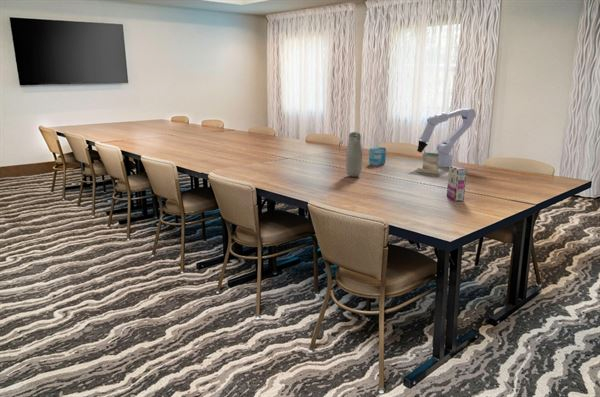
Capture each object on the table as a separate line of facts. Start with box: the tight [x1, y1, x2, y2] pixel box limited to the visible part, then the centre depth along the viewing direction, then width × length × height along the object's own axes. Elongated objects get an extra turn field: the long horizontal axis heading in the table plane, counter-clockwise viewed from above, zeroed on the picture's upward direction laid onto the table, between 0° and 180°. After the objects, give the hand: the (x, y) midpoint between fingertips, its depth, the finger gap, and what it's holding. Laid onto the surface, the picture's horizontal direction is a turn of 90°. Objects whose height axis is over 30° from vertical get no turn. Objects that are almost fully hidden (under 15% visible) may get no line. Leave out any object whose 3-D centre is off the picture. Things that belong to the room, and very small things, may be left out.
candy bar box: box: [446, 165, 467, 202], centre depth 237 cm, size 11×5×16 cm, turn 5°
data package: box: [368, 146, 387, 166], centre depth 330 cm, size 12×4×12 cm, turn 125°
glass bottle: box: [345, 131, 364, 178], centre depth 289 cm, size 10×10×28 cm
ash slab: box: [421, 152, 439, 170], centre depth 301 cm, size 4×9×12 cm, turn 55°
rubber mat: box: [407, 168, 448, 178], centre depth 300 cm, size 21×20×2 cm
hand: (419, 152), depth 317 cm, fingers open, 7 cm apart
